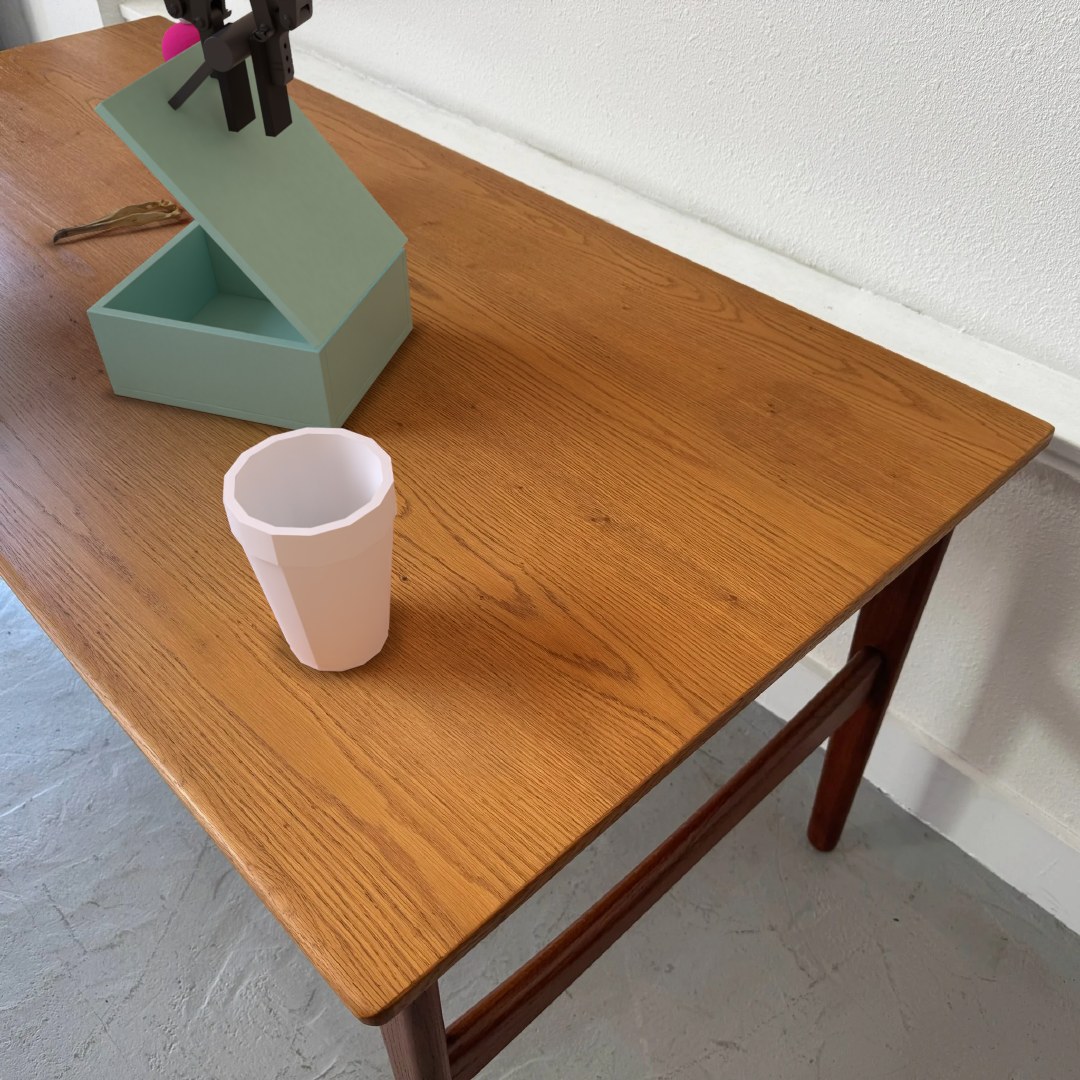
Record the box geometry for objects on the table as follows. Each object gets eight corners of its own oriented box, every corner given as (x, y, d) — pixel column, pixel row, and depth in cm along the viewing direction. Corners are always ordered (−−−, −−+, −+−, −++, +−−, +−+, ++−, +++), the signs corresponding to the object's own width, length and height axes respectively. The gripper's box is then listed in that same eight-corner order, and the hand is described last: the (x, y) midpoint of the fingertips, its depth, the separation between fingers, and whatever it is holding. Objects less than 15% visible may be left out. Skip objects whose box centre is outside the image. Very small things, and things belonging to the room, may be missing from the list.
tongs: (49, 239, 105) (44, 220, 103) (173, 211, 111) (170, 193, 109) (62, 255, 102) (57, 237, 101) (188, 226, 108) (185, 207, 107)
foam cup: (421, 584, 69) (404, 429, 60) (403, 693, 63) (381, 537, 54) (281, 580, 70) (244, 425, 61) (248, 688, 63) (201, 532, 54)
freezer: (114, 394, 85) (85, 310, 80) (217, 295, 97) (198, 215, 91) (333, 438, 81) (319, 352, 76) (413, 328, 93) (405, 247, 87)
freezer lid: (93, 110, 67) (156, 34, 63) (222, 30, 79) (284, -39, 74) (314, 349, 76) (385, 299, 71) (401, 244, 87) (468, 195, 82)
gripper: (336, -293, 59) (379, 119, 75) (104, -301, 62) (193, 96, 78) (276, -280, 54) (336, 160, 70) (26, -289, 57) (138, 134, 73)
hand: (260, 126), depth 74 cm, fingers closed on freezer lid, 2 cm apart
